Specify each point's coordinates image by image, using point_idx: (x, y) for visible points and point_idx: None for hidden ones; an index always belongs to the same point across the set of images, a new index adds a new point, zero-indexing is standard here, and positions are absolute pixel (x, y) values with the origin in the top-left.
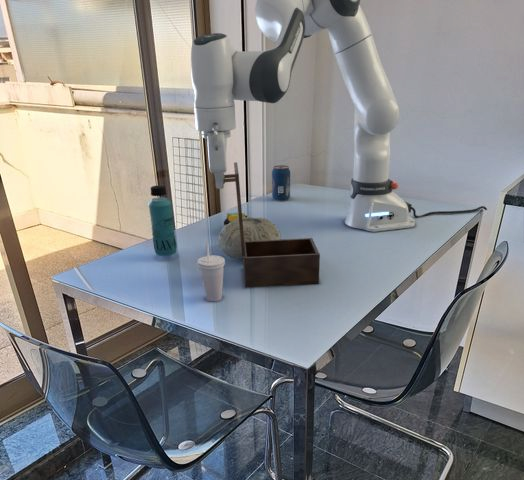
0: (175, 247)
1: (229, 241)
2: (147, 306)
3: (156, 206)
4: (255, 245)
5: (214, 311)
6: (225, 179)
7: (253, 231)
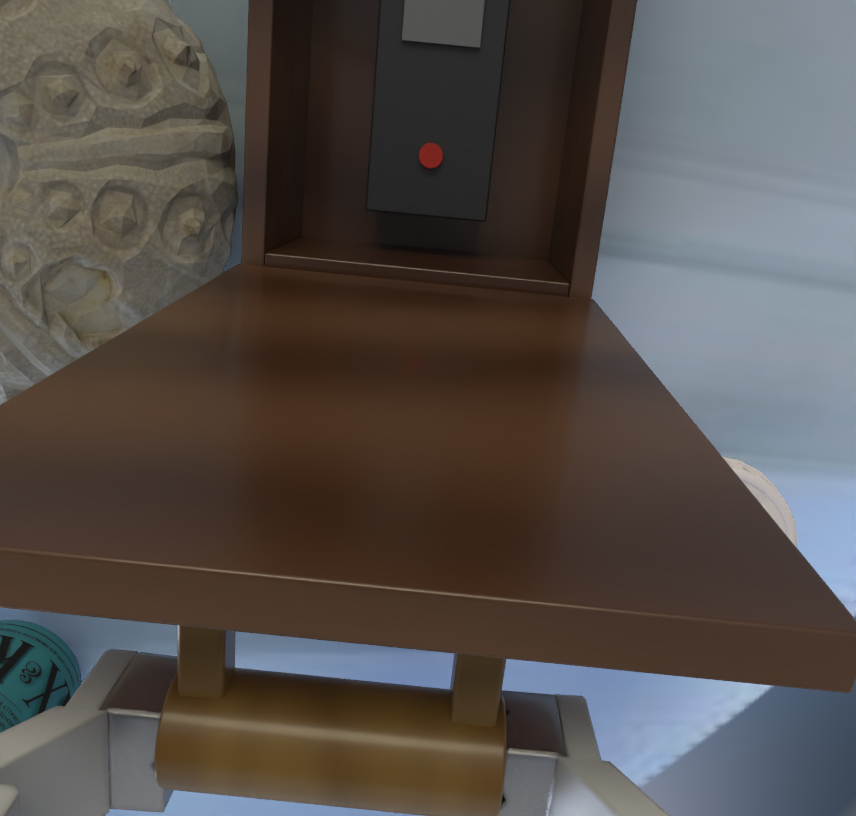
0: (19, 639)
1: None
2: (642, 742)
3: None
4: (273, 171)
5: (796, 467)
6: (496, 713)
7: (93, 160)
